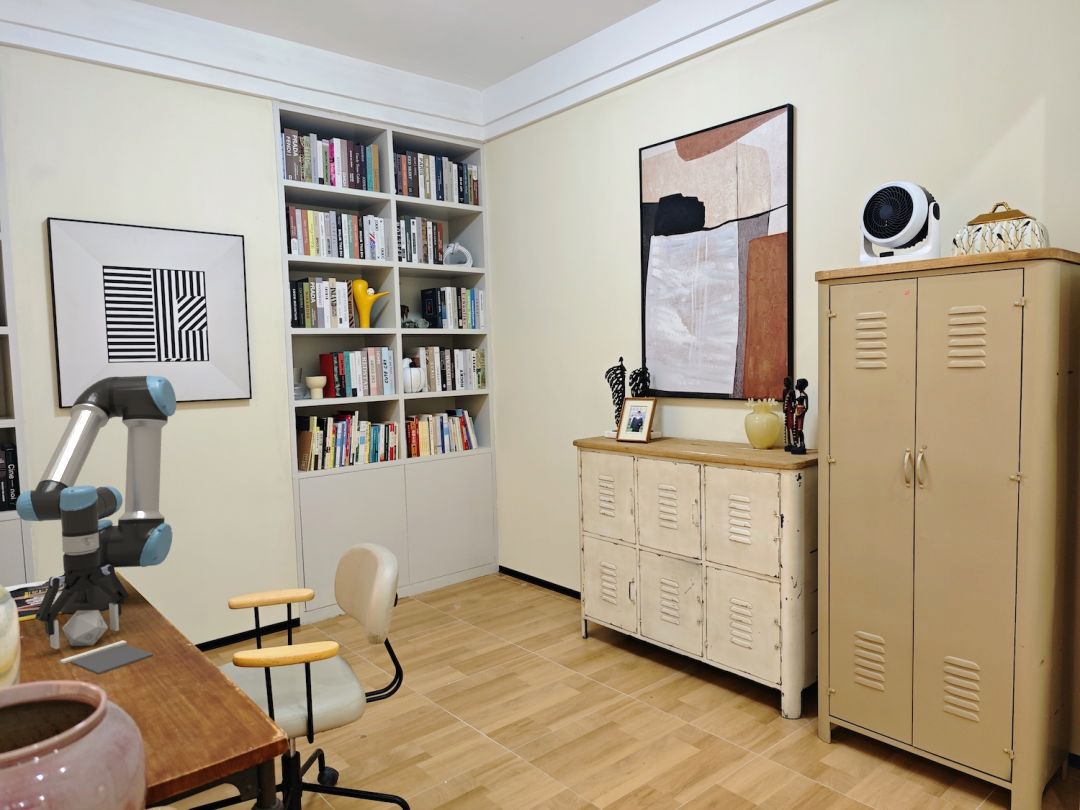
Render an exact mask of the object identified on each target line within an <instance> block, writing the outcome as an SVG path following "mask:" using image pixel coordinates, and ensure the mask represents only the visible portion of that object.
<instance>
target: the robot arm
mask: <svg viewBox="0 0 1080 810" xmlns="http://www.w3.org/2000/svg"><path fill="white" fill-rule="evenodd" d="M176 410H177V397H176V392H175V390H174V387H173V385H172V383H171V382H170V380H169V379H168V378H166V377H164V376H161V375H159V376H158V375H157V376H156V375H139V376H138V375H137V376H136V375H134V376H109V377H105V378H103V379H99V380H98V381H96V382H95V383H92V384H91V385H90V386H89V387H87V388H86V389H85V390H84V391H83V392H82V393H81V394H80V395H78V397H77V398H76V400H75V401H74V402H73V405H72V407H71V408H70V411H69V416H70V419H69V422H68V424H67V425H66V428H65V429H64V432H63V433H62V436H61V437H60V440H59V442H58V444H57V446H56V448H55V449H54V452H53V454H52V455H51V457H50V460H49V462H48V464H47V465H46V468H45V470H44V472H43V473H42V475H41V477H40V480H39V482H38V484H37V486H36V487H35V489H34V490H26V491H23V492H22V493H20V495H18V497H17V500H16V504H15V506H16V508H15V509H16V513H17V515H18V516H19V518H20V519H21V520H23V521H27V522H28V521H30V522H33V521H34V522H45V521H46V522H47V521H61V539H62V540H61V542H62V544H61V545H62V547H61V548H62V552H63V553H64V554H63V555H62V561H63V575H62V576H57V577H55V576H50V577H49V579H48V588H47V590H46V591H45V594H44V596H43V598H42V601H41V603H40V605H39V608H38V610H37V612H36V614H35V617H34V618H35V620H37V621H40V622H44V626H45V633H46V635H47V636H49V642H50V648H53V649H55V650H59V649H60V648H61V647H60V646H61V645H60V629H59V627H60V625H59V620H58V619H56V618H57V617H58V615H59V614H60V612H61V613H65V614H75V613H76V612H77V611H83V610H99V611H103V610H106V609H108V610H109V612H108V613H109V630H111V631H114V632H118V631H120V625H119V623H120V621H119V616H122V613H123V612H122V604H123V603H124V601H125V600H127V599H129V597H130V595H129V593H128V591H127V590H126V587H124V585H123V584H122V582H121V580H120V579H119V577H118V576H117V574H116V570H115V569H116V568H135V567H139V568H140V567H141V568H147V567H149V566H150V567H151V566H152V567H153V566H158V565H160V564H162V563H163V562H164V561H165V560H166V558H167V556H168V555H169V552H170V550H171V547H172V542H173V531H172V529H173V528H172V527H171V525H170V524H169V523H167V522H165V520H166V519H165V516H164V515H163V514H162V513H161V512H160V492H161V491H160V488H161V487H160V486H161V463H162V461H161V460H162V459H161V458H162V456H161V455H162V432H163V431H162V430H163V428H164V426H166V425H167V424H168V419H169V417H172V416H174V415H175V413H176ZM113 418H122V419H121V422H122V424H123V425H125V426H126V428H127V443H126V466H125V467H126V468H125V469H126V470H125V471H126V473H125V496H124V497H125V498H124V499H123V495H122V494H121V492H120V490H119V489H117V488H115V487H114V486H109V485H108V486H106V485H105V486H99V487H97V488H96V487H95V486H93V485H78V486H76V485H75V484H76V482H77V480H78V477H79V476H80V473H81V471H82V469H83V467H84V465H85V463H86V460H87V458H88V456H89V454H90V451H91V449H92V447H93V446H94V445H93V444H94V443H95V440H96V438H97V436H98V435H99V432H100V430H101V428H104V427H105V426H106V425H107V424H108V422H109V420H110V419H113ZM123 500H124V512H123V514H122V515H120V516H119V518H117V519H118V521H117V525H114V523H113V521H112V520H111V519H105V518H108V517H111V516H112V515H114V514H115V513H117V512H118V511H119V510H120V509H121V507H122V505H123ZM62 583H64V584H65V585H64V587H63V588H62V590H61V592H60V594H59V595H58V597H57V594H58V592H59V589H60V587H61V586H62ZM56 597H57V598H56ZM61 610H62V611H61Z"/></svg>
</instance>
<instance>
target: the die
mask: <svg viewBox="0 0 1080 810" xmlns="http://www.w3.org/2000/svg"><path fill="white" fill-rule="evenodd" d="M108 628H109V626H108V625H107V623H106V621H105V619H104V617H103V616H102V613H101V611H100V610H83V611H77V612H76V613H73V615H72V616H71V617H70V618H69V619H68V620H67V622H66V623H65V624H64V625H63V626H62V627H61V630H62V631H63V633H64V635H65V636H66V639H67V641H68V642H69V644H70V645H71V647H85V646H88V647H89V646H90V647H91V646H95V645H96V643H97V642H98V640H99V639H100V638H101V637H102V636H103V635H104V633H105V632H106V631H107V630H108Z"/></svg>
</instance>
